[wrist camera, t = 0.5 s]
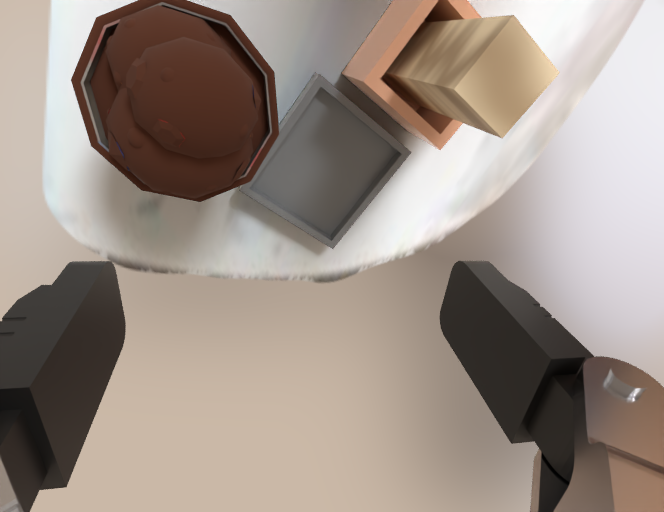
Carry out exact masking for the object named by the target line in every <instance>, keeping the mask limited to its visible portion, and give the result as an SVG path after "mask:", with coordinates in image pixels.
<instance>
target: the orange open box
mask: <svg viewBox="0 0 664 512" xmlns="http://www.w3.org/2000/svg"><path fill="white" fill-rule="evenodd" d="M474 18H482V17H481V16H480V15H479V14H478V13H477V12H476V10H475V9H474V8H473V7H472V6H471V4H470V3H469V2H468V1H467V0H393V1H392V2H391V4H390V5H389V7H388V8H387V10H386V11H385V12H384V14H383V15H382V17H381V18H380V19H379V21H378V22H377V24H376V25H375V26H374V28H373V29H372V31H371V32H370V33H369V35H368V36H367V38H366V39H365V41H364V42H363V43H362V45H361V46H360V48H359V49H358V50H357V52H356V53H355V55H354V56H353V57H352V59H351V60H350V62H349V63H348V65H347V66H346V67H345V69H344V70H343V72H342V73H341V74H342V75H344V76H345V77H346V78H347V79H348V80H349V81H350V82H352V83H353V84H354V85H355V86H356V87H357V88H358V89H360V90H361V91H362V92H363V93H364V94H365V95H366V96H368V97H369V98H370V99H371V100H372V101H373V102H374V103H375V104H377V105H378V106H379V107H380V108H381V109H382V110H383V111H385V112H386V113H387V114H388V115H389V116H390V117H391V118H393V119H394V120H395V121H396V122H397V123H398V124H399V125H401V126H402V127H403V128H404V129H405V130H406V131H408V132H409V133H411V134H413V135H415V136H416V137H418V138H420V139H422V140H423V141H425V142H427V143H428V144H430V145H432V146H434V147H435V148H437V149H439V150H441V149H442V147H443V146H444V145H445V144H446V143H447V141H448V140H449V139H450V138H451V137H452V135H453V134H454V133H455V132H456V131H457V129H458V128H459V127H460V126H461V125H462V122H460V121H457V120H454V119H452V118H449V117H447V116H444V115H442V114H439V113H437V112H434V111H431V110H429V109H426V108H424V107H421V106H419V105H416V104H414V103H411V102H409V101H408V100H407V99H406V98H405V97H404V96H403V95H402V94H400V93H399V92H398V91H397V90H396V89H395V88H394V87H393V86H392V85H391V84H390V83H389V82H387V81H386V80H385V79H384V78H383V77H382V76H383V75H384V73H385V72H386V71H387V69H388V68H389V67H390V65H391V64H392V63H393V61H394V60H395V58H396V57H397V56H398V54H399V53H400V52H401V50H402V49H403V48H404V46H405V45H406V44H407V42H408V41H409V40H410V38H411V37H412V36H413V34H414V33H415V32H416V30H417V29H418V28H419V26H420V25H421V23H426V22H438V21H450V20H462V19H474Z"/></svg>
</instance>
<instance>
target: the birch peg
mask: <svg viewBox="0 0 664 512" xmlns="http://www.w3.org/2000/svg"><path fill="white" fill-rule="evenodd" d="M558 74H559V72H558V70H557V69H556V68H555V67H554V65H553V64H552V63H551V61H550V60H549V59H548V58H547V56H546V55H545V54H544V53H543V51H542V50H541V49H540V48H539V46H538V45H537V44H536V43H535V41H534V40H533V39H532V38H531V36H530V35H529V34H528V33H527V31H526V30H525V29H524V28H523V26H522V25H521V24H520V22H519V21H518V20H517V19H516V17H515V16H514V15H511V16H498V17H486V18H474V19H462V20H450V21H438V22H426V23H421V25H420V26H419V28H418V29H417V30H416V32H415V33H414V34H413V36H412V37H411V38H410V40H409V41H408V42H407V44H406V45H405V46H404V48H403V49H402V50H401V52H400V53H399V54H398V56H397V57H396V58H395V60H394V61H393V63H392V64H391V65H390V67H389V68H388V69H387V71H386V72H385V73H384V75H383V76H382V77H383V78H384V79H385V80H386V81H387V82H389V83H390V84H391V85H392V86H393V87H394V88H395V89H396V90H397V91H398V92H399V93H400V94H402V95H403V96H404V97H405V98H406V99H407V100H408V101H409V102H411V103H414V104H416V105H419V106H421V107H424V108H426V109H429V110H431V111H434V112H437V113H439V114H442V115H444V116H447V117H449V118H452V119H454V120H457V121H460V122H462V123H465V124H467V125H470V126H472V127H475V128H477V129H480V130H483V131H485V132H488V133H490V134H493V135H495V136H498V137H500V138H503V137H504V136H505V135H506V133H507V132H508V131H509V130H510V129H511V128H512V127H513V125H514V124H515V123H516V122H517V121H518V120H519V119H520V117H521V116H522V115H523V114H524V113H525V112H526V111H527V110H528V108H529V107H530V106H531V105H532V104H533V103H534V102H535V100H536V99H537V98H538V97H539V96H540V95H541V94H542V92H543V91H544V90H545V89H546V88H547V87H548V86H549V84H550V83H551V82H552V81H553V80H554V79H555V78H556V77H557V75H558Z"/></svg>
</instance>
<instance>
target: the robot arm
mask: <svg viewBox="0 0 664 512" xmlns="http://www.w3.org/2000/svg"><path fill="white" fill-rule="evenodd" d="M551 316H552V315H551V314H550V313H549V312H548V311H546V310H545V309H544V308H543V307H540V304H539V303H538V302H537V301H536V300H535V299H534V298H533V297H532V296H531V295H530V294H529V293H528V292H527V291H525V290H524V289H522V288H520V287H519V286H517V285H515V284H514V283H512V282H510V281H508V280H507V279H506V278H505V277H504V276H503V275H502V274H501V273H500V272H499V271H498V270H497V269H496V268H495V267H494V266H493V265H492V264H491V263H490V262H488V261H458V262H456V263H455V264H454V266H453V268H452V271H451V274H450V278H449V282H448V286H447V289H446V292H445V296H444V300H443V304H442V307H441V311H440V325H441V329H442V332H443V335H444V336H445V338H446V340H447V341H448V343H449V344H450V346H451V348H452V349H453V351H454V352H455V354H456V355H457V357H458V359H459V360H460V362H461V363H462V365H463V367H464V368H465V370H466V372H467V373H468V375H469V376H470V378H471V380H472V381H473V383H474V384H475V386H476V388H477V389H478V391H479V392H480V394H481V396H482V397H483V399H484V400H485V402H486V404H487V405H488V407H489V409H490V410H491V412H492V413H493V415H494V417H495V418H496V420H497V421H498V423H499V425H500V426H501V428H502V429H503V431H504V433H505V434H506V436H507V437H508V439H509V441H510V442H511V443H512V444H513V443H522V442H532V441H535V443H536V444H537V446H538V447H539V449H538V451H537V454H536V455H535V457H534V465H533V479H532V492H531V506H530V512H664V387H663V386H662V385H661V384H660V383H658V381H656V380H655V379H654V378H653V377H651V376H650V375H649V374H647V373H646V372H644V371H643V370H641V369H639V368H637V367H635V366H633V365H631V364H629V363H627V362H624V361H621V360H618V359H615V358H610V357H602V356H596V357H594V356H593V355H592V354H591V353H590V352H589V351H588V350H587V349H586V348H585V347H584V346H583V345H582V344H581V343H580V342H579V341H578V340H577V339H576V338H575V337H574V336H573V335H571V334H570V333H569V332H568V331H567V330H566V329H565V328H564V327H563V326H562V325H561V324H560V323H559V322H558V321H557V320H556V319H555V318H552V317H551ZM124 339H125V317H124V312H123V306H122V301H121V296H120V290H119V285H118V280H117V275H116V270H115V267H114V265H113V263H112V262H110V261H106V262H105V261H103V262H102V261H98V262H95V261H94V262H92V261H91V262H70V263H69V264H68V265H67V266H66V267H65V269H64V270H63V271H62V272H61V274H60V275H59V276H58V278H57V279H56V280H55V282H54V283H53V284H52V285H41V286H40V287H38V288H37V289H35V290H33V291H31V292H30V293H28V294H27V295H25V296H23V297H22V298H20V299H18V300H17V301H16V303H15V304H14V305H13V306H12V307H11V308H10V309H9V311H8V312H7V313H6V314H5V315H4V316H3V318H2V321H0V512H30V509H31V507H32V505H33V503H34V501H35V498H36V496H37V494H38V492H39V490H44V489H54V488H63V487H67V484H68V482H69V479H70V477H71V474H72V472H73V469H74V466H75V464H76V461H77V459H78V457H79V454H80V452H81V449H82V447H83V444H84V442H85V439H86V437H87V434H88V432H89V429H90V427H91V424H92V422H93V419H94V417H95V415H96V412H97V410H98V407H99V404H100V402H101V400H102V397H103V395H104V392H105V390H106V387H107V385H108V382H109V380H110V377H111V375H112V372H113V370H114V367H115V365H116V362H117V360H118V357H119V355H120V352H121V350H122V347H123V344H124Z"/></svg>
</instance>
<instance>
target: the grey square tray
mask: <svg viewBox="0 0 664 512" xmlns="http://www.w3.org/2000/svg"><path fill="white" fill-rule="evenodd" d="M410 154H411V152H410V151H409V150H408V149H407V148H406V147H404V146H403V145H402V144H401V143H400V142H399V141H397V140H396V139H395V138H394V137H393V136H392V135H390V134H389V133H388V132H387V131H386V130H385V129H383V128H382V127H381V126H380V125H379V124H377V123H376V122H375V121H374V120H373V119H372V118H370V117H369V116H368V115H367V114H366V113H365V112H363V111H362V110H361V109H360V108H359V107H357V106H356V105H355V104H354V103H353V102H352V101H350V100H349V99H348V98H347V97H346V96H345V95H343V94H342V93H341V92H340V91H339V90H337V89H336V88H335V87H334V86H333V85H332V84H330V83H329V82H328V81H327V80H326V79H325V78H323V77H322V76H321V75H320V74H318V73H316V72H315V74H314V75H313V77H312V78H311V79H310V81H309V82H308V84H307V85H306V87H305V88H304V90H303V91H302V93H301V94H300V95H299V97H298V98H297V100H296V101H295V103H294V104H293V106H292V107H291V109H290V110H289V111H288V113H287V114H286V116H285V117H284V119H283V120H282V122H281V123H280V124H279V136H278V137H277V139H276V141H275V142H274V144H273V146H272V147H271V149H270V151H269V152H268V154H267V156H266V157H265V159H264V160H263V162H262V164H261V165H260V167H259V169H258V170H257V172H256V174H255V175H254V177H253V179H252V180H251V182H248V183H246V184H243V185H241V186H239V191H241V192H243V193H244V194H246V195H247V196H249V197H251V198H252V199H254V200H255V201H257V202H259V203H260V204H262V205H263V206H265V207H267V208H268V209H270V210H271V211H273V212H275V213H276V214H278V215H279V216H281V217H283V218H284V219H286V220H287V221H289V222H290V223H292V224H294V225H295V226H297V227H298V228H300V229H302V230H303V231H305V232H306V233H308V234H310V235H311V236H313V237H314V238H316V239H318V240H319V241H321V242H322V243H324V244H326V245H327V246H329V247H330V248H332V249H333V248H334V247H335V246H336V244H337V243H338V242H339V241H340V240H341V238H342V237H343V236H344V235H345V233H346V232H347V231H348V230H349V228H350V227H351V226H352V225H353V224H354V222H355V221H356V220H357V219H358V217H359V216H360V215H361V214H362V212H363V211H364V210H365V209H366V208H367V206H368V205H369V204H370V203H371V201H372V200H373V199H374V198H375V197H376V195H377V194H378V193H379V192H380V190H381V189H382V188H383V187H384V185H385V184H386V183H387V182H388V181H389V179H390V178H391V177H392V176H393V174H394V173H395V172H396V171H397V169H398V168H399V167H400V166H401V165H402V163H403V162H404V161H405V160H406V158H407V157H408V156H409V155H410Z"/></svg>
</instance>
